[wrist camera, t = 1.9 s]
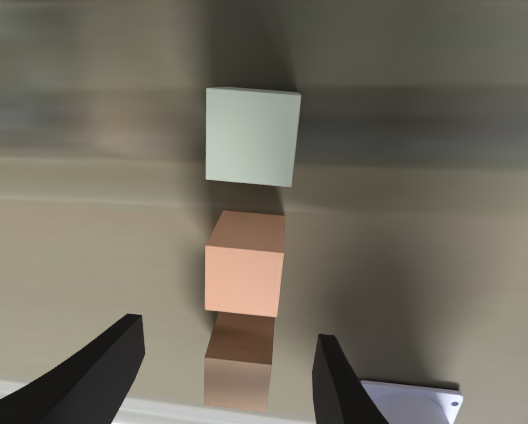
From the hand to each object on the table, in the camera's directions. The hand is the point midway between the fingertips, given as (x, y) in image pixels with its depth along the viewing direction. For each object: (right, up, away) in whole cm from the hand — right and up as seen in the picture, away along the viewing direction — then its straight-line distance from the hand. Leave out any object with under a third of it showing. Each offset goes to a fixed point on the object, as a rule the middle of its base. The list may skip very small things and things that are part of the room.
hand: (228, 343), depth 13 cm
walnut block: (0, -3, +11) cm, 12 cm away
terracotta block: (+1, +3, +9) cm, 9 cm away
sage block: (+1, +10, +6) cm, 12 cm away
